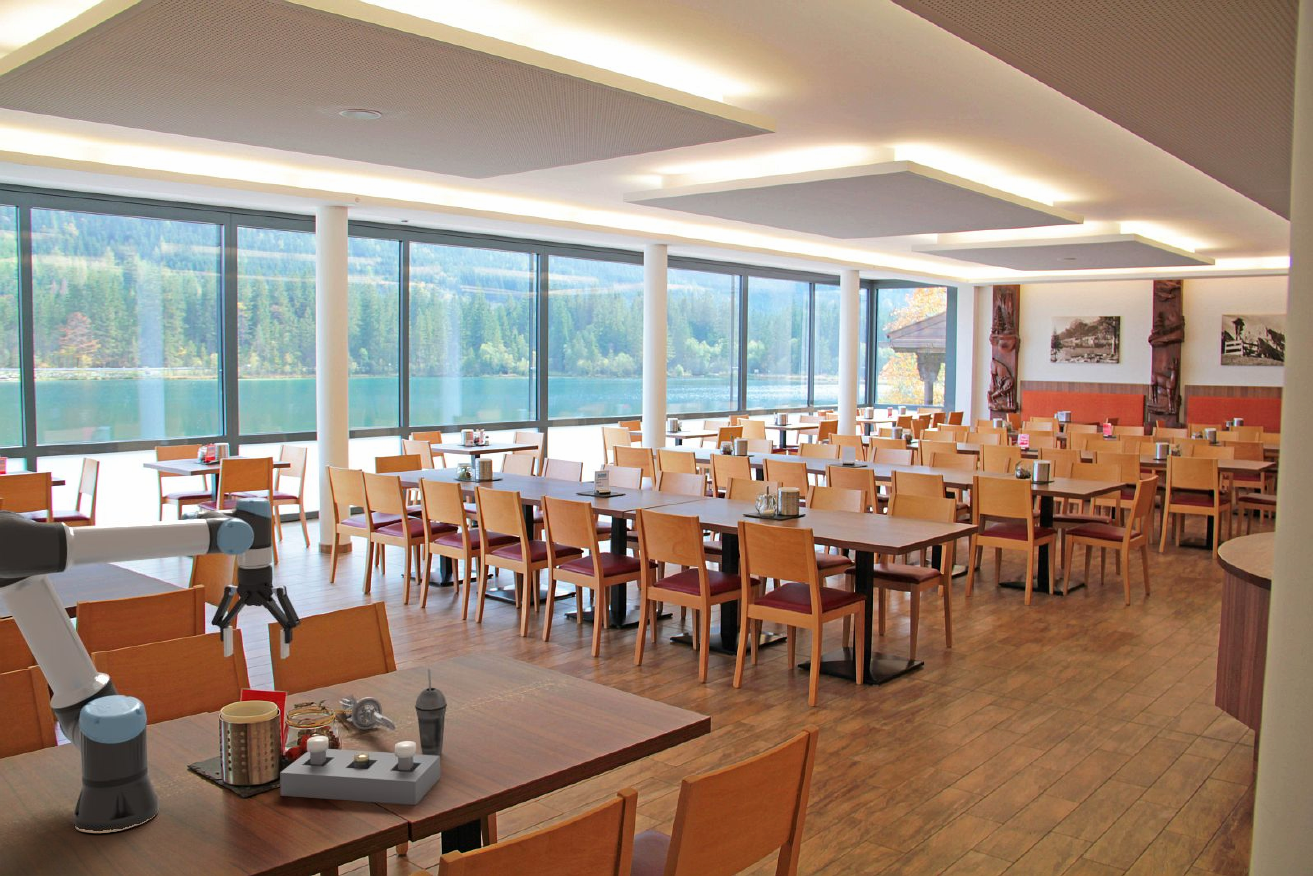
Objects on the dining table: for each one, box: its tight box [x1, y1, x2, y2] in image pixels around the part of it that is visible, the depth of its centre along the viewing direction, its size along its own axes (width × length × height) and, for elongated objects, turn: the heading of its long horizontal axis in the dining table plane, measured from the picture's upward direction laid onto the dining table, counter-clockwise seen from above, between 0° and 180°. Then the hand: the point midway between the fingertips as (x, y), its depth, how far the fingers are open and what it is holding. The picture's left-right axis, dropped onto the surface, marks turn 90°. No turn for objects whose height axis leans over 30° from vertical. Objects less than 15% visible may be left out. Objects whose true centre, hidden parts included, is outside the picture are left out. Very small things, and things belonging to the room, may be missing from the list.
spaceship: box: [339, 694, 396, 731], centre depth 255 cm, size 8×35×8 cm
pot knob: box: [354, 753, 369, 769], centre depth 220 cm, size 3×3×3 cm
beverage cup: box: [414, 668, 448, 757], centre depth 238 cm, size 7×7×20 cm
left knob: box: [306, 735, 330, 765], centre depth 221 cm, size 4×4×5 cm
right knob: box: [394, 740, 417, 770], centre depth 218 cm, size 4×4×5 cm
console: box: [279, 748, 441, 806], centre depth 220 cm, size 14×30×5 cm, turn 81°
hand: (256, 656), depth 235 cm, fingers open, 13 cm apart
